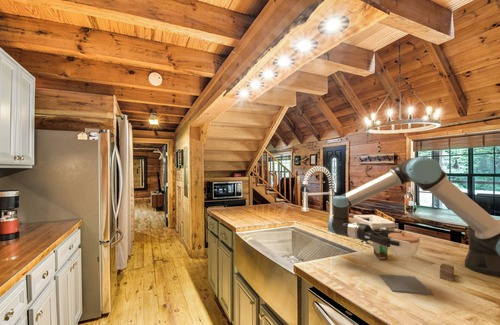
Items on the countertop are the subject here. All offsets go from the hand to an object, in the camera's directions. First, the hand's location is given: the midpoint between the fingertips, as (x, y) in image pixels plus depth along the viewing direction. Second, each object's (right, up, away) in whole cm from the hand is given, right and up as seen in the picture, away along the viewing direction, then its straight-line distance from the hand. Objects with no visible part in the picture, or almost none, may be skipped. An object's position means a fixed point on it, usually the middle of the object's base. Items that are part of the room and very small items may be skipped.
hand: (414, 242), depth 94 cm
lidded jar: (-3, -6, +3) cm, 7 cm away
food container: (+5, -19, +32) cm, 37 cm away
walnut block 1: (+22, -18, +11) cm, 31 cm away
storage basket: (+16, -20, +61) cm, 66 cm away
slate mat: (-2, -18, +3) cm, 18 cm away
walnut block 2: (+19, -18, +7) cm, 27 cm away
